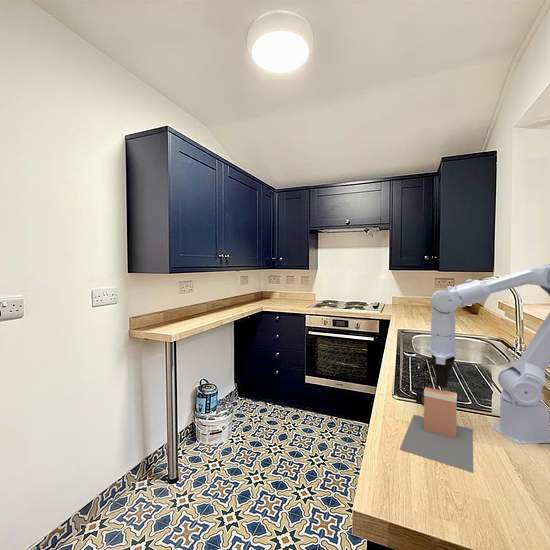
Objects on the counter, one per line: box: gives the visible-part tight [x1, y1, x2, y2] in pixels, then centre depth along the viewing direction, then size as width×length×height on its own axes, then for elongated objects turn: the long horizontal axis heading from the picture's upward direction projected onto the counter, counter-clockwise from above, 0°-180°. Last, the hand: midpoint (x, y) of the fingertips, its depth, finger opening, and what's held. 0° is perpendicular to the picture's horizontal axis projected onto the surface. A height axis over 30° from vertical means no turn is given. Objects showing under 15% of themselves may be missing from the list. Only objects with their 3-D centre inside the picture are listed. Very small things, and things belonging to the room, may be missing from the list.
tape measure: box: [414, 391, 424, 406], centre depth 91 cm, size 7×7×4 cm
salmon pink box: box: [423, 386, 458, 438], centre depth 75 cm, size 3×7×10 cm, turn 57°
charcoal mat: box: [399, 414, 474, 474], centre depth 72 cm, size 20×14×1 cm
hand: (442, 384), depth 81 cm, fingers open, 3 cm apart
